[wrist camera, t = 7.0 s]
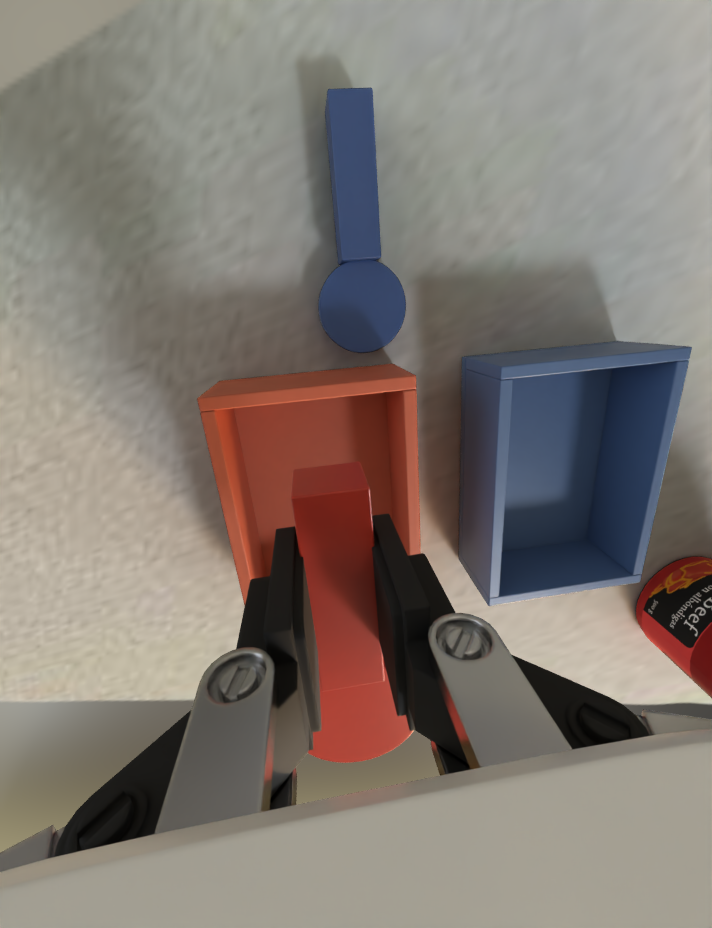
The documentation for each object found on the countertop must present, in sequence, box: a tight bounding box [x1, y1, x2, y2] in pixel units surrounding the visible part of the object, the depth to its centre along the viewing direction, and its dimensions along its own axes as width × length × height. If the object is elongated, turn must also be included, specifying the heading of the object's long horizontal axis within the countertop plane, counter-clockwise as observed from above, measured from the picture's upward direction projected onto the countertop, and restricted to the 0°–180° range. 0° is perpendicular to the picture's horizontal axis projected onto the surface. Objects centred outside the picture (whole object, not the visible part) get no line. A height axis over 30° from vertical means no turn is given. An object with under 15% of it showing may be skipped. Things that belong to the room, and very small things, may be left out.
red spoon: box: [291, 462, 414, 763], centre depth 11 cm, size 10×4×2 cm, turn 5°
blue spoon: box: [318, 88, 406, 353], centre depth 18 cm, size 10×4×2 cm, turn 4°
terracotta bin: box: [197, 364, 421, 605], centre depth 21 cm, size 13×9×5 cm
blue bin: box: [459, 341, 692, 606], centre depth 22 cm, size 13×9×5 cm
